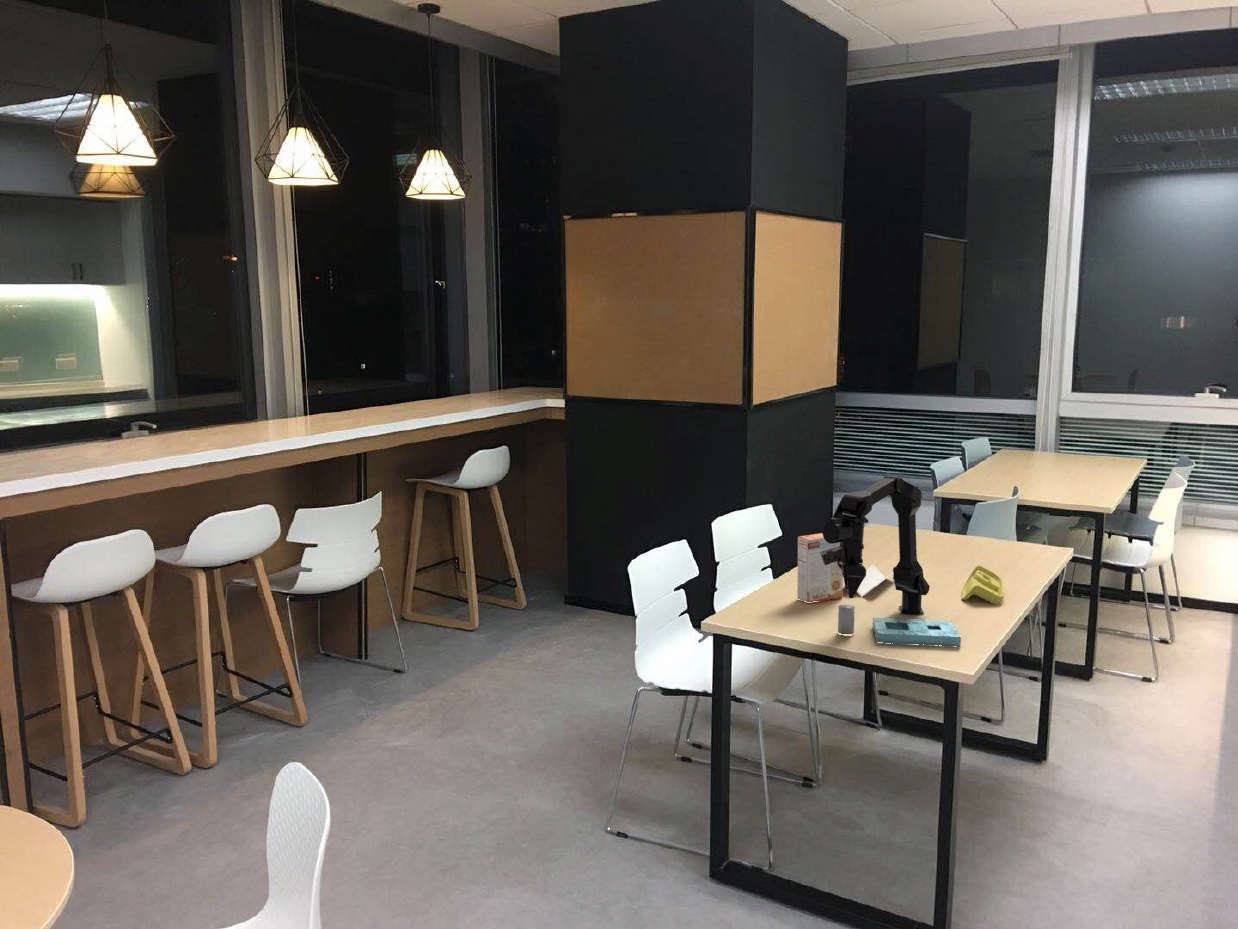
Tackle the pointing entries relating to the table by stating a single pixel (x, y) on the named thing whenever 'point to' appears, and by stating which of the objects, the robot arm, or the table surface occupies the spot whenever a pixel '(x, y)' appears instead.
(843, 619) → the grey cylinder
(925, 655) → the table surface
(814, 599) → the cracker box
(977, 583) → the plastic component
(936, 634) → the plate
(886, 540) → the table surface
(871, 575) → the z bracket
